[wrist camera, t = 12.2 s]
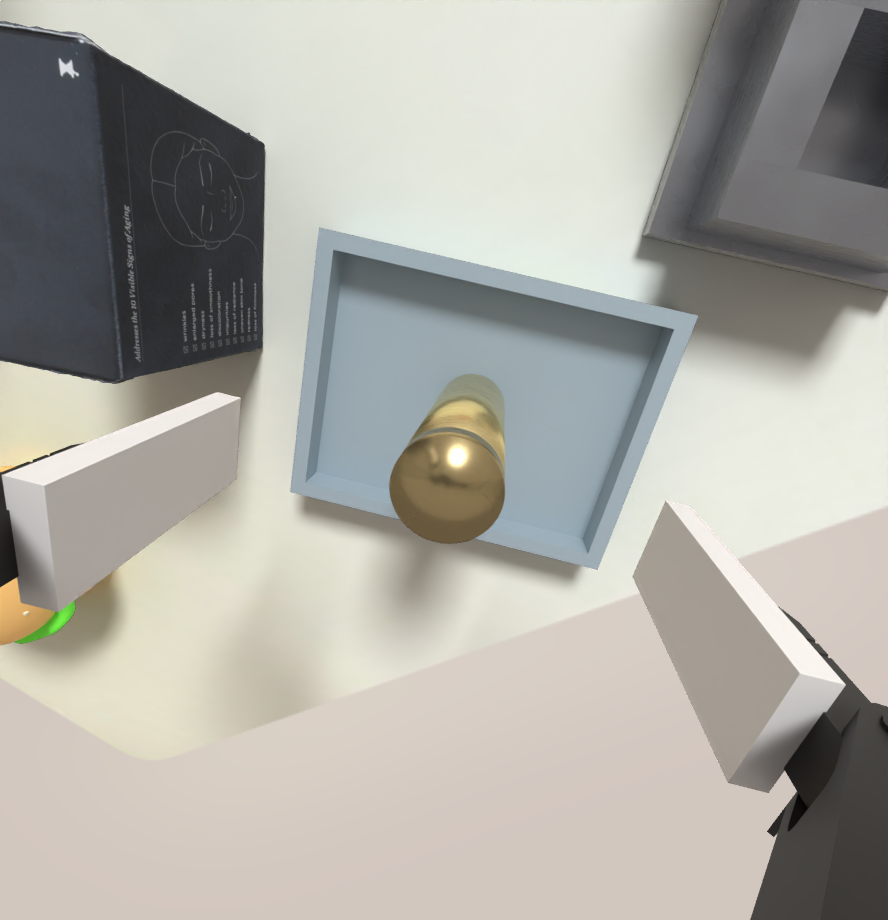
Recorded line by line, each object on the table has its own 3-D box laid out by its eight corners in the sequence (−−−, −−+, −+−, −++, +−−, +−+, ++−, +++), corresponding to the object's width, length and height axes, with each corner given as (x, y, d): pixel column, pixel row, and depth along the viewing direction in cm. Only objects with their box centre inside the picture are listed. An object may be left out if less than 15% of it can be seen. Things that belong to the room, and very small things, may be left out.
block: (642, 235, 23) (674, 223, 19) (730, -28, 19) (795, -118, 15) (890, 292, 22) (980, 292, 18) (1027, 33, 19) (1179, -42, 15)
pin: (433, 429, 26) (380, 527, 15) (446, 366, 25) (400, 423, 14) (495, 445, 26) (488, 555, 15) (512, 382, 25) (518, 452, 14)
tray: (307, 476, 29) (290, 491, 27) (336, 233, 24) (319, 227, 22) (589, 546, 29) (597, 569, 26) (679, 313, 24) (698, 315, 21)
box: (143, 120, 24) (-109, 0, 14) (268, 139, 23) (100, 31, 14) (156, 334, 27) (-36, 358, 18) (264, 353, 27) (130, 389, 17)
